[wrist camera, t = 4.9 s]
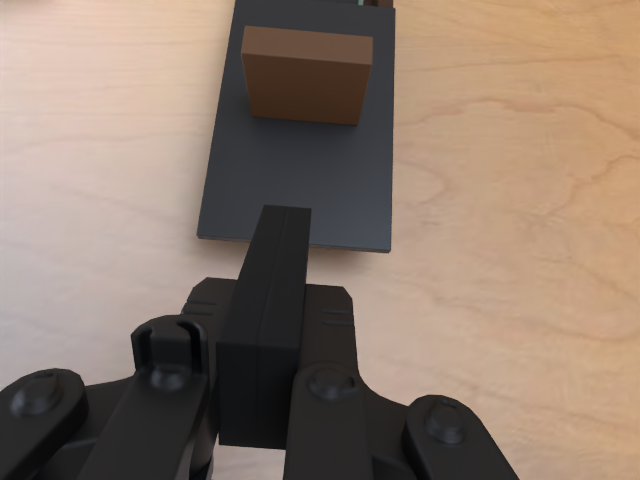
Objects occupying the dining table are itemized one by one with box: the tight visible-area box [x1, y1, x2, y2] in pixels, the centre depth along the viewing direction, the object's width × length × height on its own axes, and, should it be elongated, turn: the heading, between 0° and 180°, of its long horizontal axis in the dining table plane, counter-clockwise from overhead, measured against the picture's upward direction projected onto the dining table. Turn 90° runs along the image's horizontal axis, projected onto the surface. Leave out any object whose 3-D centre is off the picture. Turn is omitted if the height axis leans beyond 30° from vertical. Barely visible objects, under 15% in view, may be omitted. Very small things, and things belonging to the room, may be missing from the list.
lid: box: [196, 0, 395, 253], centre depth 23 cm, size 16×10×6 cm, turn 176°
